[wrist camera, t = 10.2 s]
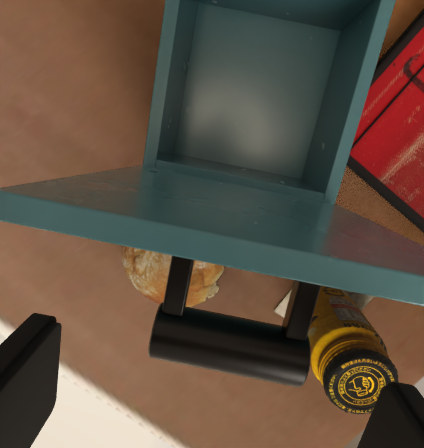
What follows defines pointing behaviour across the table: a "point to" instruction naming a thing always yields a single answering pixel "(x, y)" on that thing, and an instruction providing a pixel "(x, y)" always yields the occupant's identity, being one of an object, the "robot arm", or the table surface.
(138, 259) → the bread roll
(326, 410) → the table surface
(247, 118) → the bread box
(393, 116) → the binder
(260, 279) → the table surface
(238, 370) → the bread box lid
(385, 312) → the table surface
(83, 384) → the table surface
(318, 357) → the condiment
